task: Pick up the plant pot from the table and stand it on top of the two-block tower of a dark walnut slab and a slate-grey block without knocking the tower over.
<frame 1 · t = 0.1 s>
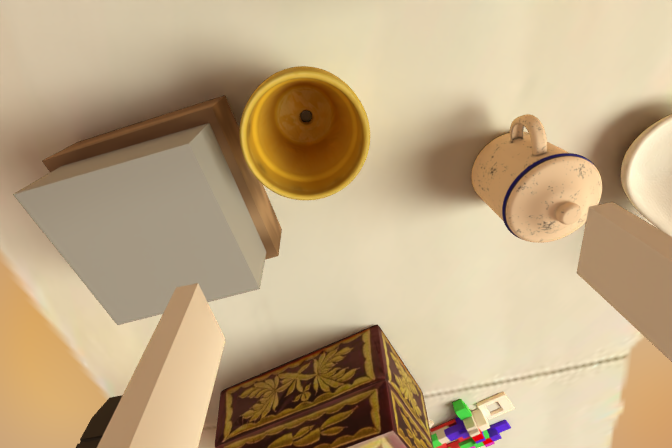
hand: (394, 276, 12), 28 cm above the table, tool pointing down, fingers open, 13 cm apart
spoon rest: (653, 193, 45), on the table
decorative box: (324, 389, 59), on the table
building block set: (453, 433, 69), on the table
walnut base block: (189, 187, 40), on the table, touching grey top block
grey top block: (172, 212, 35), point 6 cm above the table, touching walnut base block
teacup with lid: (505, 156, 41), on the table
plant pot: (305, 113, 37), on the table
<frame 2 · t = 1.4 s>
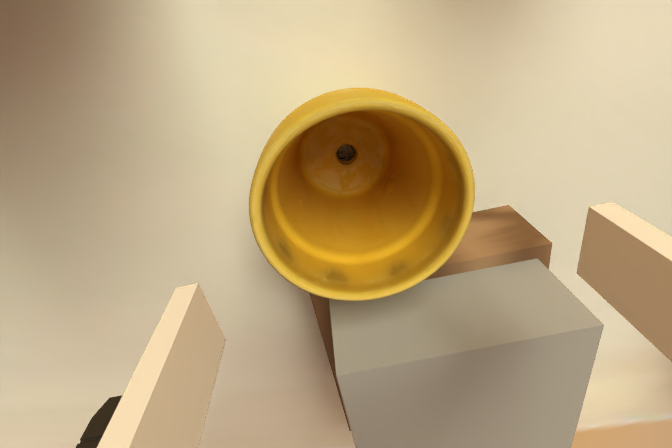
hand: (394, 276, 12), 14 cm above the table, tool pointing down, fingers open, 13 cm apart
walnut base block: (414, 298, 32), on the table, touching grey top block
grey top block: (436, 350, 27), point 6 cm above the table, touching walnut base block
plant pot: (343, 149, 25), on the table
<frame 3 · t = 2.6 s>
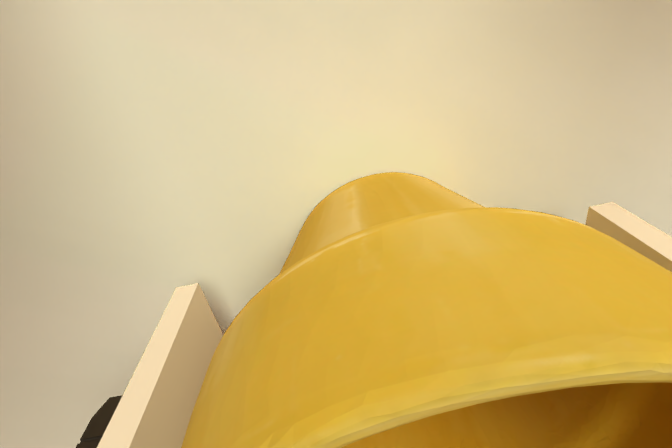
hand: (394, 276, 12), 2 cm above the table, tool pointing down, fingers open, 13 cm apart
plant pot: (382, 245, 14), on the table
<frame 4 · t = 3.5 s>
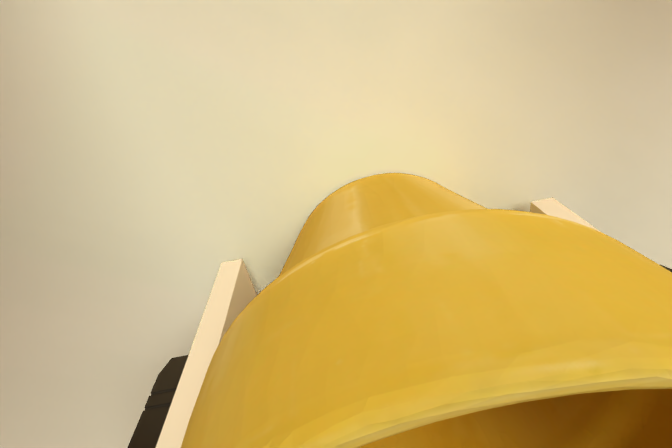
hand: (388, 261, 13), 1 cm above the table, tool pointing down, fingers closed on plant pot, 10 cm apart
plant pot: (383, 246, 14), on the table, touching gripper
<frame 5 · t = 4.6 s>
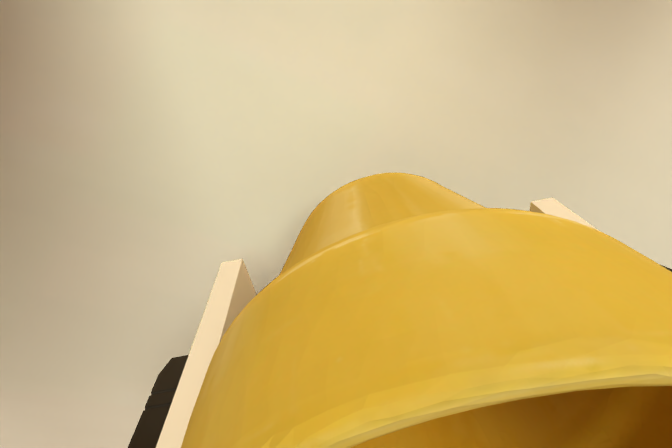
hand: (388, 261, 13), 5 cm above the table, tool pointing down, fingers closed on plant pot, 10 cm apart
plant pot: (383, 245, 14), point 4 cm above the table, touching gripper
when the fingers open (14 cm above the table, at t = 10.0 s): plant pot drops 1 cm, resting on grey top block.
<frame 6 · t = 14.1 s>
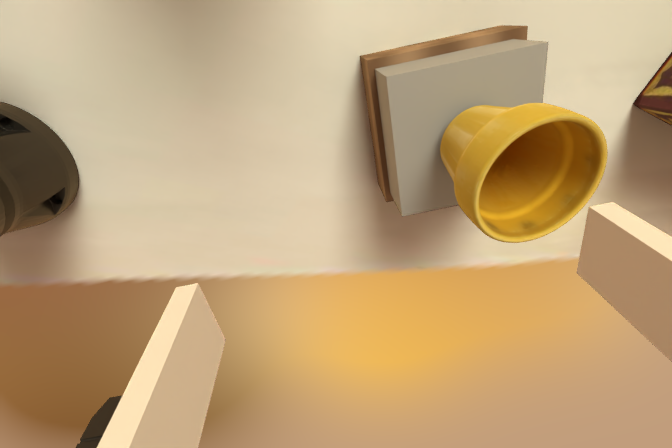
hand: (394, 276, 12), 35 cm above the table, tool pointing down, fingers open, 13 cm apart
walnut base block: (432, 111, 45), on the table, touching grey top block
grey top block: (446, 123, 39), point 6 cm above the table, touching plant pot, walnut base block
plant pot: (472, 138, 34), point 12 cm above the table, touching grey top block
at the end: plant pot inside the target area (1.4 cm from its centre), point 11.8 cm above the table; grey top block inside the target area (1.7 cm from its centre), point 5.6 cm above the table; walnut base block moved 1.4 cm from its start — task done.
